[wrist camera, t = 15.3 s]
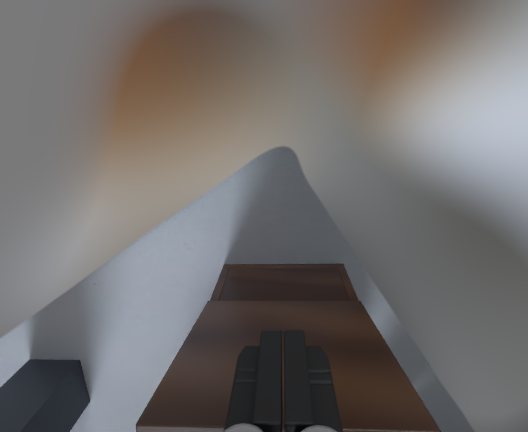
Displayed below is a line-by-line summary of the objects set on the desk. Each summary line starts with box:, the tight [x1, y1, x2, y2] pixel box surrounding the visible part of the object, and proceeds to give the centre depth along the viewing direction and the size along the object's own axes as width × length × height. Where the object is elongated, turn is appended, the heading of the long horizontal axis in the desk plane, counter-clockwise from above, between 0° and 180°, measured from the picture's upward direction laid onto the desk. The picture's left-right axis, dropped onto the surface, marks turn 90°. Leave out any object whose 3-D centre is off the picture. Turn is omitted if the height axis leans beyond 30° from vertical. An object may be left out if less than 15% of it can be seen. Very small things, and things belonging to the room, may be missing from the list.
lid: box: [136, 301, 441, 432], centre depth 21 cm, size 14×14×1 cm
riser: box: [0, 360, 90, 432], centre depth 37 cm, size 7×7×14 cm
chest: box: [210, 264, 358, 301], centre depth 35 cm, size 14×14×8 cm
